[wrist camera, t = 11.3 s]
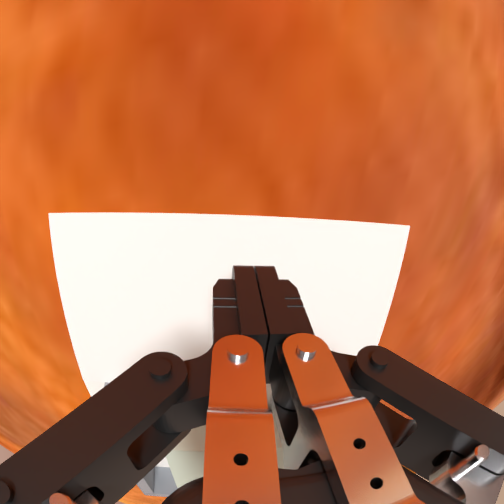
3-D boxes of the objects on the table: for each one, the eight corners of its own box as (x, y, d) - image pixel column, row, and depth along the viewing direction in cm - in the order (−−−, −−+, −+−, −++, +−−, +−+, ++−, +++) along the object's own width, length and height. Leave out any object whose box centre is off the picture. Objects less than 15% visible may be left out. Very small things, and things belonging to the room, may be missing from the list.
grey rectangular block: (291, 399, 19) (302, 445, 16) (269, 457, 23) (275, 490, 20) (166, 401, 17) (163, 449, 14) (179, 459, 22) (179, 493, 19)
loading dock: (401, 218, 16) (460, 271, 11) (307, 443, 28) (319, 487, 23) (56, 205, 13) (-1, 263, 8) (133, 446, 25) (129, 493, 20)
